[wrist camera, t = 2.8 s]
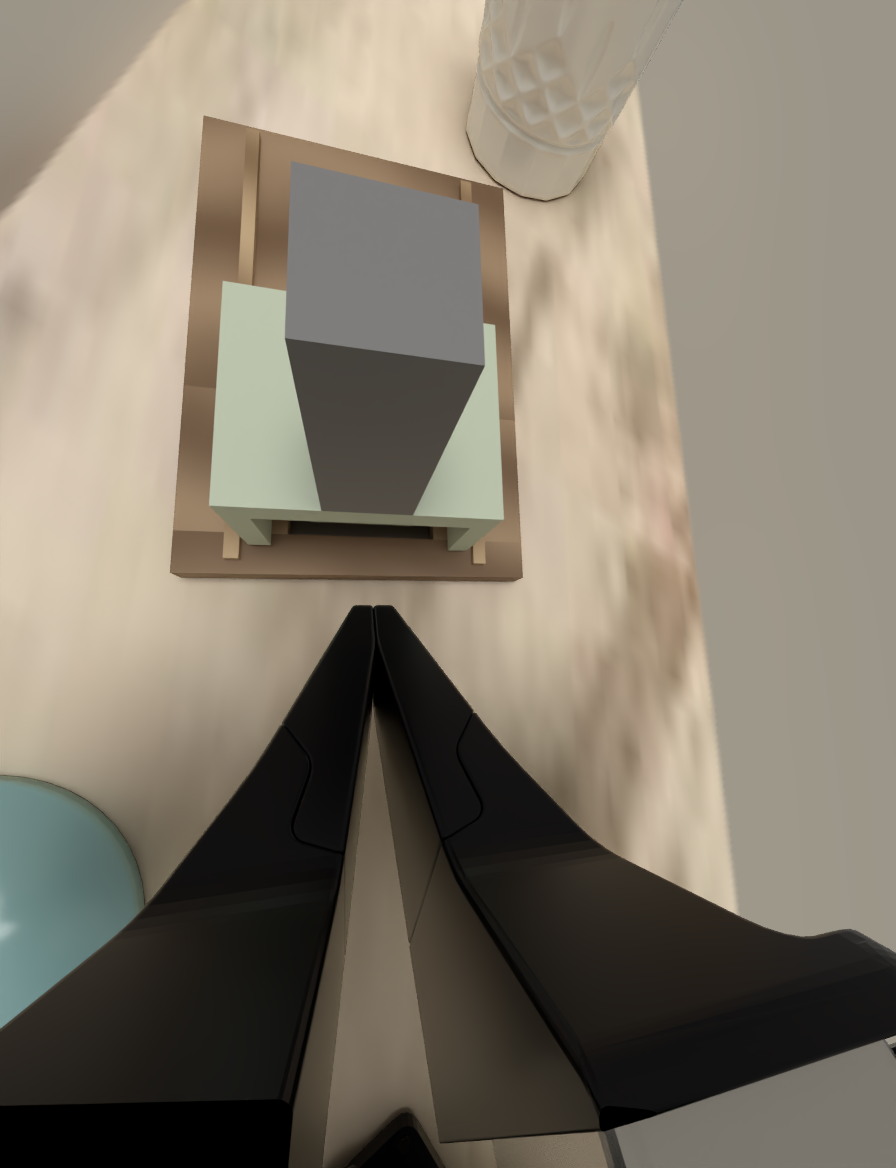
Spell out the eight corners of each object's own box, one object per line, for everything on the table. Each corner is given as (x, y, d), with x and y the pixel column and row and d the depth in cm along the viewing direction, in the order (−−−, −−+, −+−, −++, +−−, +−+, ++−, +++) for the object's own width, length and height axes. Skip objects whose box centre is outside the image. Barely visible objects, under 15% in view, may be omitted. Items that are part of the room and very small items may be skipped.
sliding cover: (466, 551, 16) (661, 390, 6) (248, 544, 15) (1, 298, 4) (461, 399, 17) (624, 39, 7) (255, 376, 15) (68, -160, 5)
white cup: (505, 58, 23) (621, -380, 13) (615, 157, 23) (801, -186, 14) (425, 135, 21) (491, -316, 11) (548, 240, 21) (711, -93, 12)
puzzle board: (513, 581, 18) (525, 576, 17) (181, 577, 15) (166, 571, 14) (495, 209, 21) (505, 182, 20) (211, 144, 18) (201, 106, 17)
